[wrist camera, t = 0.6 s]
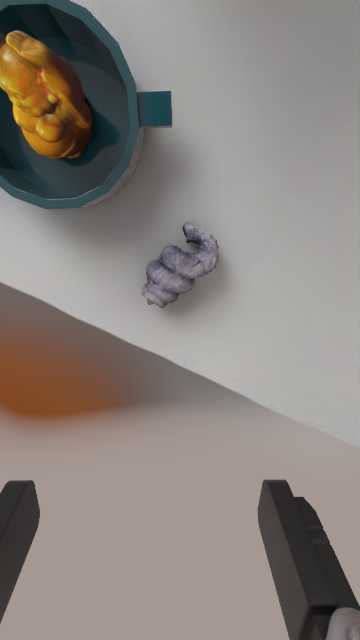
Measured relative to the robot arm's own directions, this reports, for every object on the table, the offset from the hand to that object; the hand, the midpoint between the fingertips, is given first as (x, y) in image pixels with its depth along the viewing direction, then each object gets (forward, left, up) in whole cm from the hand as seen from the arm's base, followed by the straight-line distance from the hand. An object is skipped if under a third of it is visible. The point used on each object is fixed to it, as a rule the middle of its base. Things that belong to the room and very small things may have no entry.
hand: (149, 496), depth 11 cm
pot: (-17, -8, -27) cm, 33 cm away
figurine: (-17, -8, -27) cm, 32 cm away
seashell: (-3, +2, -27) cm, 27 cm away
